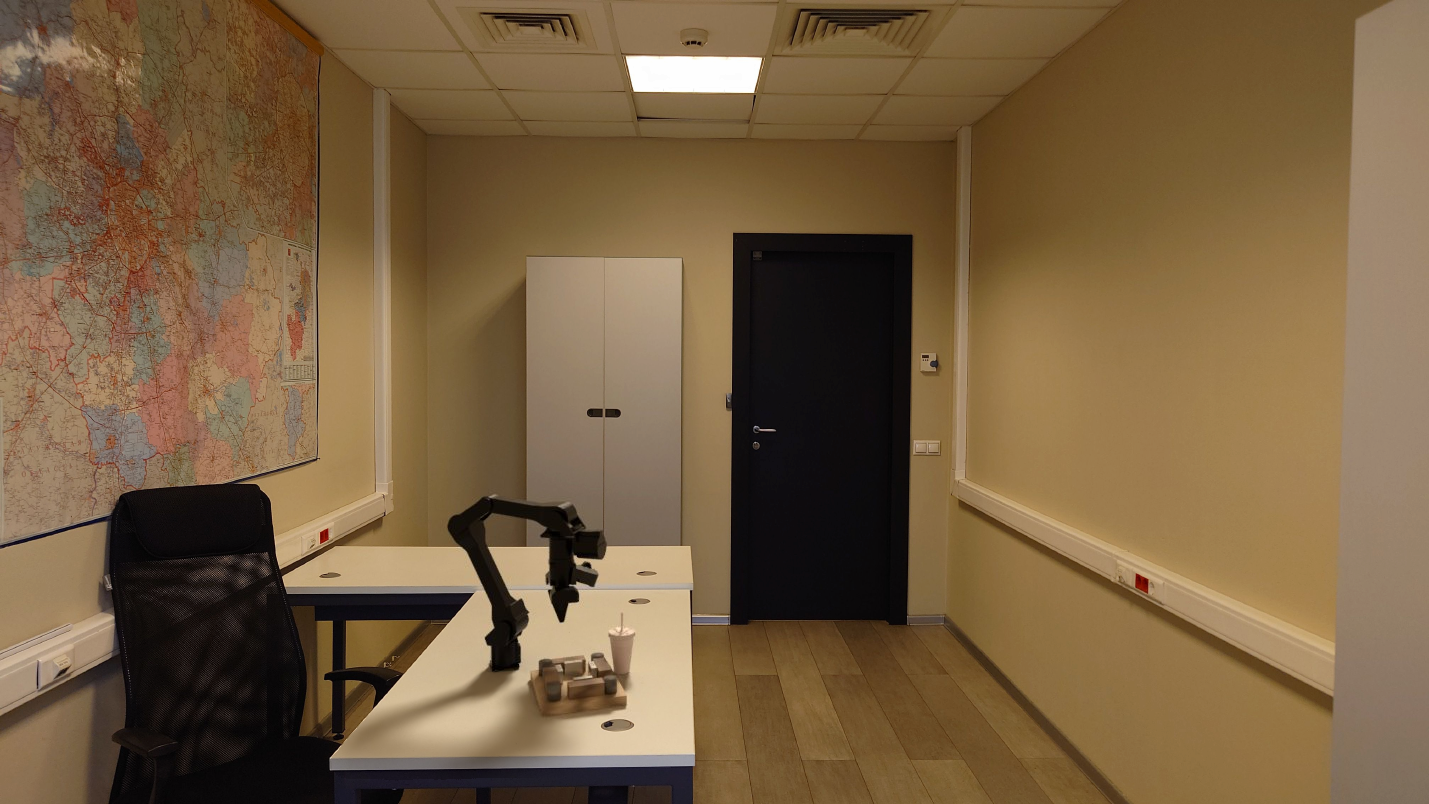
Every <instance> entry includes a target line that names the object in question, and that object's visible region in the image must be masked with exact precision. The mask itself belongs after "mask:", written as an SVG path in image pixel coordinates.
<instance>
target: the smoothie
mask: <svg viewBox="0 0 1429 804" xmlns="http://www.w3.org/2000/svg"><path fill="white" fill-rule="evenodd" d="M635 636H636V630H635V629H634V628H633V627H630V626H624V611H621V612H620V626H616V627H612V628H611V629H609V630H608V636H607V637H608V638H609V642H610V643H609V644H610V650H611V658H612V665H613V672H614V674H617V675H626V674H628V673H630V670H631V663H632V654H633V646H634V640H635V639H634V637H635Z"/></svg>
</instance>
